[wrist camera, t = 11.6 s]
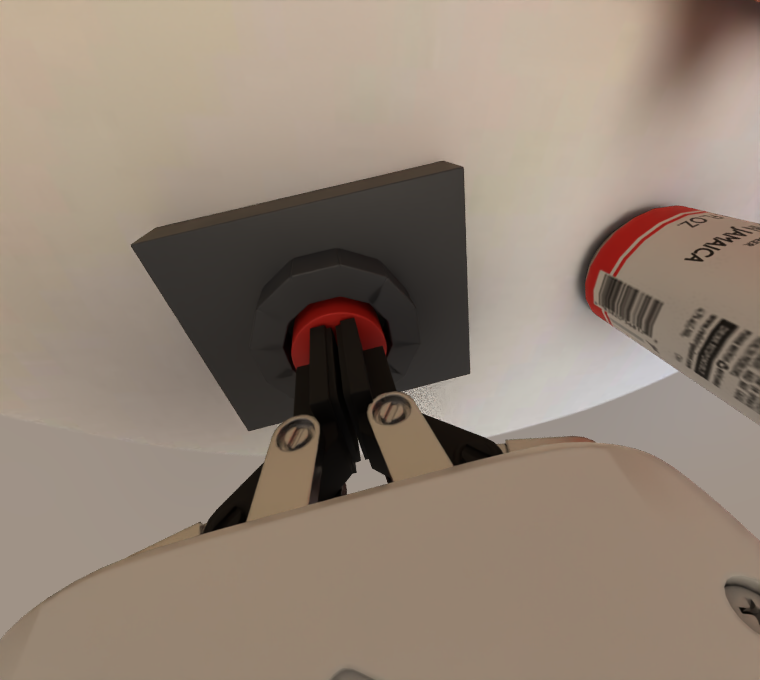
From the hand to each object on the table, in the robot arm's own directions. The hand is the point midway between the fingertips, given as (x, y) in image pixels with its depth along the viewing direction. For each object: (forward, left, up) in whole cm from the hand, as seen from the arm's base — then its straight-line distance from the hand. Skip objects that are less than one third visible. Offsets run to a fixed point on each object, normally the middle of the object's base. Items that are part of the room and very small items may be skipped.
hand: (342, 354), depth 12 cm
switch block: (0, 0, -5) cm, 5 cm away
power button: (0, 0, -2) cm, 2 cm away
